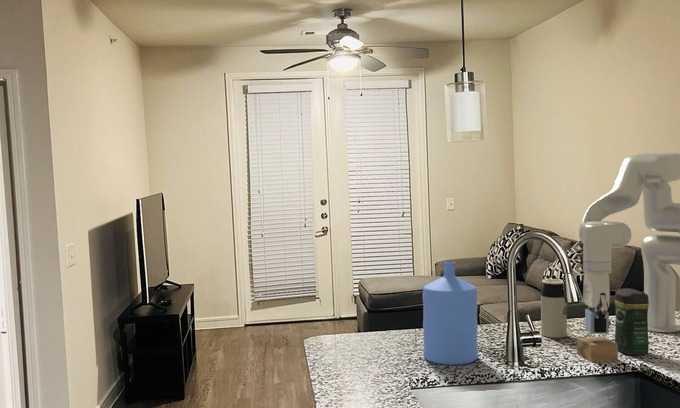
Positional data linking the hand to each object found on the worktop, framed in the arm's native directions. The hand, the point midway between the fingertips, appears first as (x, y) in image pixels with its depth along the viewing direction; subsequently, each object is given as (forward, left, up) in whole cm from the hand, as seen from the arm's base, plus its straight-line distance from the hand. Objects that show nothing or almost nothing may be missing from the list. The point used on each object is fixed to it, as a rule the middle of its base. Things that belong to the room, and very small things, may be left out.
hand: (596, 329), depth 190 cm
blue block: (0, 0, -1) cm, 1 cm away
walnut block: (0, 0, -8) cm, 8 cm away
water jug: (+1, -42, -8) cm, 43 cm away
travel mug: (-25, -6, -8) cm, 27 cm away
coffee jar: (-6, +12, -8) cm, 16 cm away
